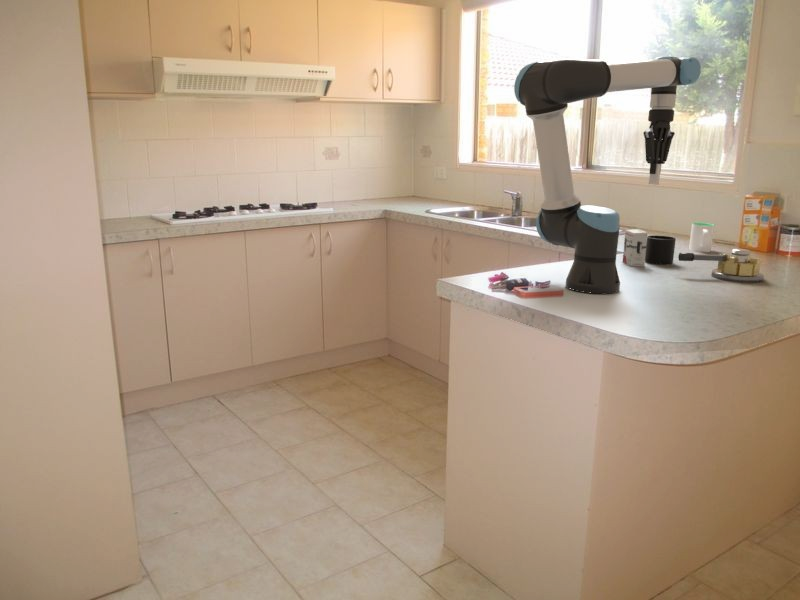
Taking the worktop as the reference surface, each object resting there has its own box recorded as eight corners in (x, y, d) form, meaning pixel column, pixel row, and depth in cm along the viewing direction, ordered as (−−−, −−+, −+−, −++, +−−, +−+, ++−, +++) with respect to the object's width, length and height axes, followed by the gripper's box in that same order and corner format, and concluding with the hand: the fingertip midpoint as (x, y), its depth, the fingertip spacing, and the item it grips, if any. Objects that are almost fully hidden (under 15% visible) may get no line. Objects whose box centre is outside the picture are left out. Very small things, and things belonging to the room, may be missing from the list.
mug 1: (652, 258, 245) (655, 233, 243) (678, 264, 235) (681, 238, 233) (633, 259, 241) (636, 235, 239) (659, 265, 231) (662, 239, 229)
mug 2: (716, 254, 257) (719, 227, 255) (694, 253, 258) (697, 226, 256) (707, 249, 269) (711, 223, 266) (686, 248, 270) (689, 222, 267)
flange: (733, 283, 204) (737, 254, 202) (701, 273, 218) (704, 246, 216) (774, 281, 208) (779, 253, 205) (740, 272, 222) (744, 245, 220)
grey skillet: (764, 276, 207) (766, 258, 205) (683, 273, 209) (686, 255, 207) (748, 269, 218) (751, 252, 216) (672, 266, 220) (674, 249, 218)
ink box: (621, 261, 237) (625, 228, 234) (635, 262, 237) (638, 229, 234) (630, 266, 229) (634, 232, 226) (644, 266, 229) (648, 232, 226)
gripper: (664, 109, 217) (656, 183, 223) (638, 108, 210) (631, 184, 216) (684, 109, 211) (676, 184, 217) (659, 107, 204) (650, 185, 210)
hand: (653, 184), depth 216 cm, fingers closed
